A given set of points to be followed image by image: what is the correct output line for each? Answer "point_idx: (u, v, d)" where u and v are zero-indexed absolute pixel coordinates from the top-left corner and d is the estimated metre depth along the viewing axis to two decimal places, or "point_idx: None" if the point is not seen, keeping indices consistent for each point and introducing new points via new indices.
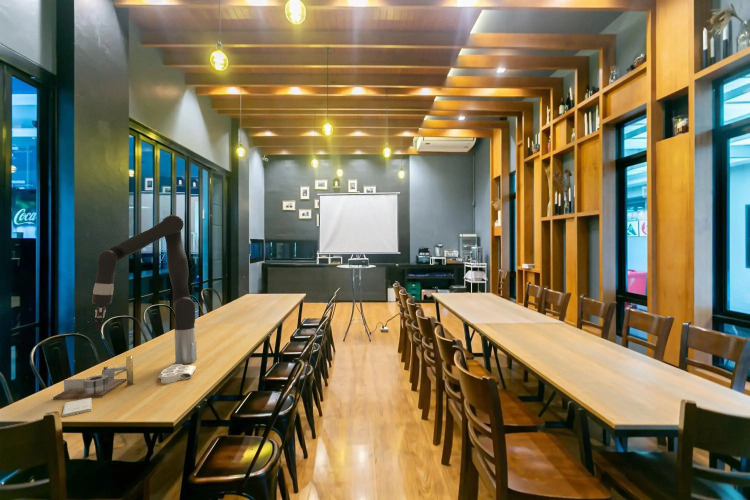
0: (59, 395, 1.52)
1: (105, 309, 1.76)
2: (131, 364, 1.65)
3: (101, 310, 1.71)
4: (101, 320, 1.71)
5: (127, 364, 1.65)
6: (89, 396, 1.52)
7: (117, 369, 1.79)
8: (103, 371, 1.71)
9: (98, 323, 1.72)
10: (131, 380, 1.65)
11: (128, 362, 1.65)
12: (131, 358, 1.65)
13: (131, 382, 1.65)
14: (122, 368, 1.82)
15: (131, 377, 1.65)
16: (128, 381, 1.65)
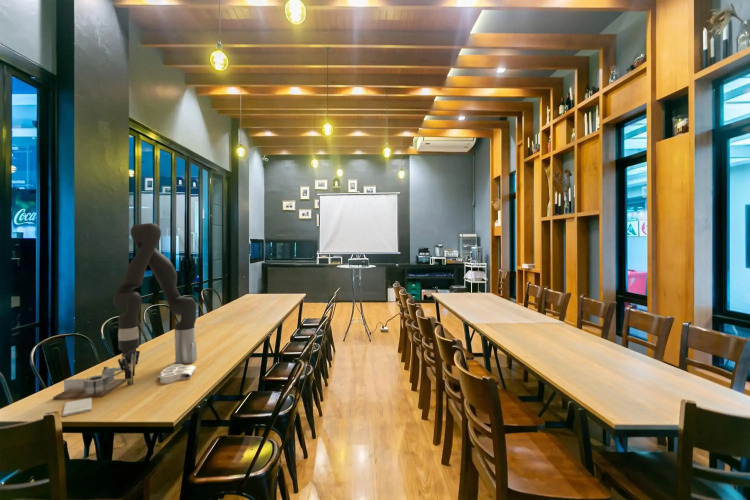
0: (59, 395, 1.52)
1: (131, 356, 1.64)
2: (131, 364, 1.65)
3: (122, 362, 1.60)
4: (126, 369, 1.62)
5: None
6: (89, 396, 1.52)
7: (117, 369, 1.79)
8: (103, 371, 1.71)
9: None
10: (131, 380, 1.65)
11: (128, 362, 1.65)
12: None
13: (131, 382, 1.65)
14: None
15: (131, 377, 1.65)
16: (128, 381, 1.65)
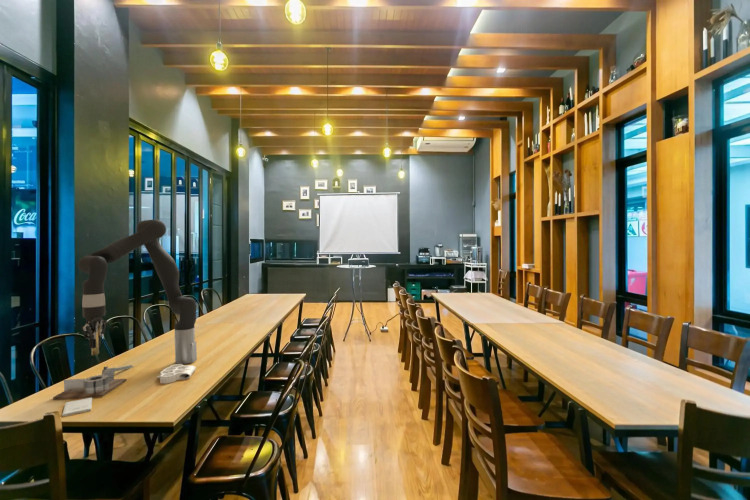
0: (59, 395, 1.52)
1: (96, 324, 1.55)
2: (96, 333, 1.56)
3: (85, 329, 1.50)
4: (90, 338, 1.52)
5: (92, 333, 1.55)
6: (89, 396, 1.52)
7: (117, 369, 1.79)
8: (103, 371, 1.71)
9: None
10: (96, 350, 1.56)
11: (93, 330, 1.55)
12: None
13: (96, 352, 1.56)
14: (122, 368, 1.83)
15: (96, 346, 1.56)
16: (92, 351, 1.55)
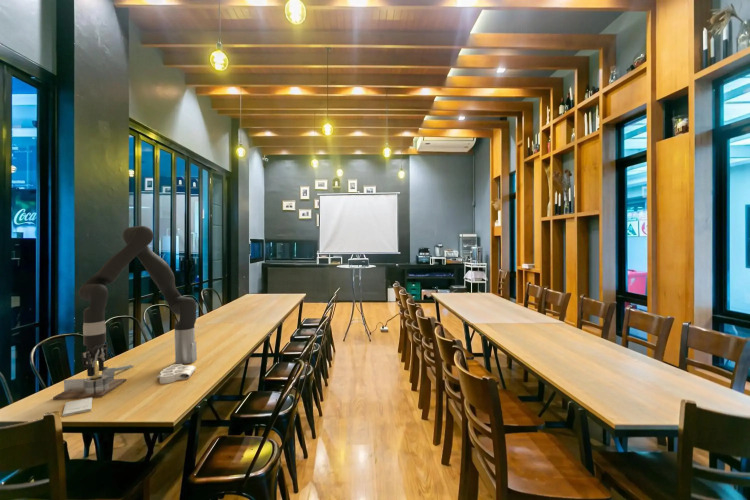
0: (59, 395, 1.52)
1: (96, 351, 1.55)
2: (97, 369, 1.56)
3: (85, 356, 1.50)
4: (88, 366, 1.51)
5: None
6: (89, 396, 1.52)
7: (117, 369, 1.79)
8: (103, 371, 1.71)
9: None
10: None
11: None
12: (96, 363, 1.56)
13: None
14: (122, 368, 1.83)
15: None
16: None
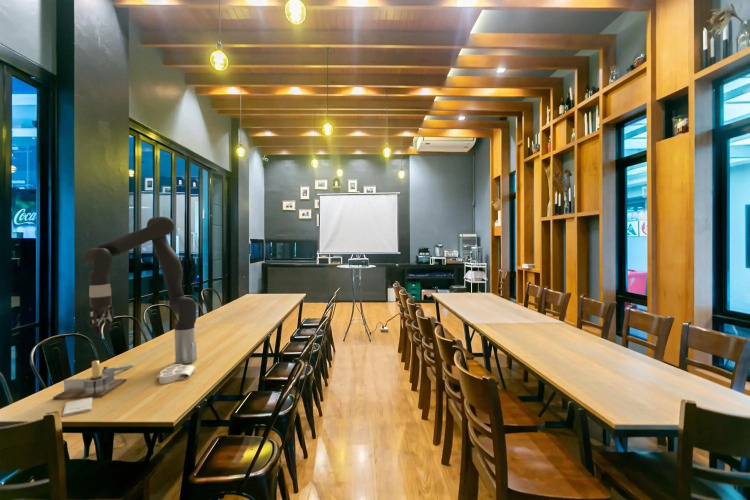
0: (59, 395, 1.52)
1: (103, 312, 1.61)
2: (97, 369, 1.56)
3: (92, 314, 1.56)
4: (94, 325, 1.56)
5: (93, 369, 1.56)
6: (89, 396, 1.52)
7: (117, 369, 1.79)
8: (103, 371, 1.71)
9: None
10: None
11: (94, 367, 1.56)
12: (97, 363, 1.56)
13: None
14: (122, 368, 1.83)
15: None
16: None
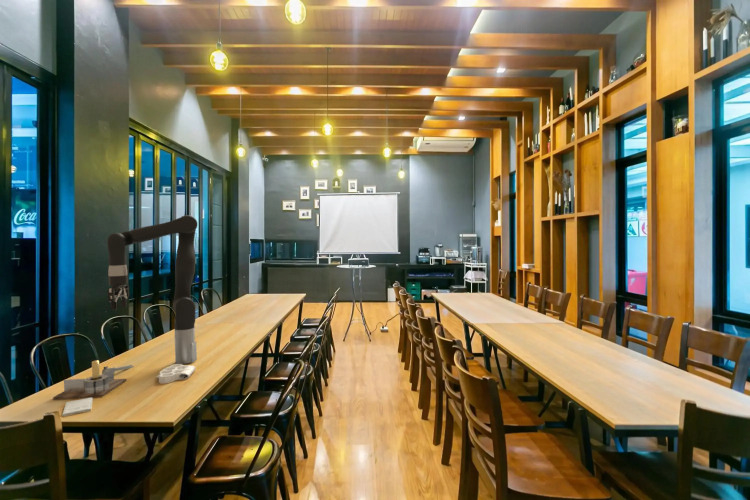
0: (59, 395, 1.52)
1: (120, 290, 1.82)
2: (97, 369, 1.57)
3: (111, 291, 1.77)
4: (112, 300, 1.77)
5: (93, 369, 1.56)
6: (89, 396, 1.52)
7: (117, 369, 1.79)
8: (103, 371, 1.71)
9: None
10: None
11: (94, 367, 1.56)
12: (97, 362, 1.57)
13: None
14: (122, 368, 1.83)
15: None
16: None
